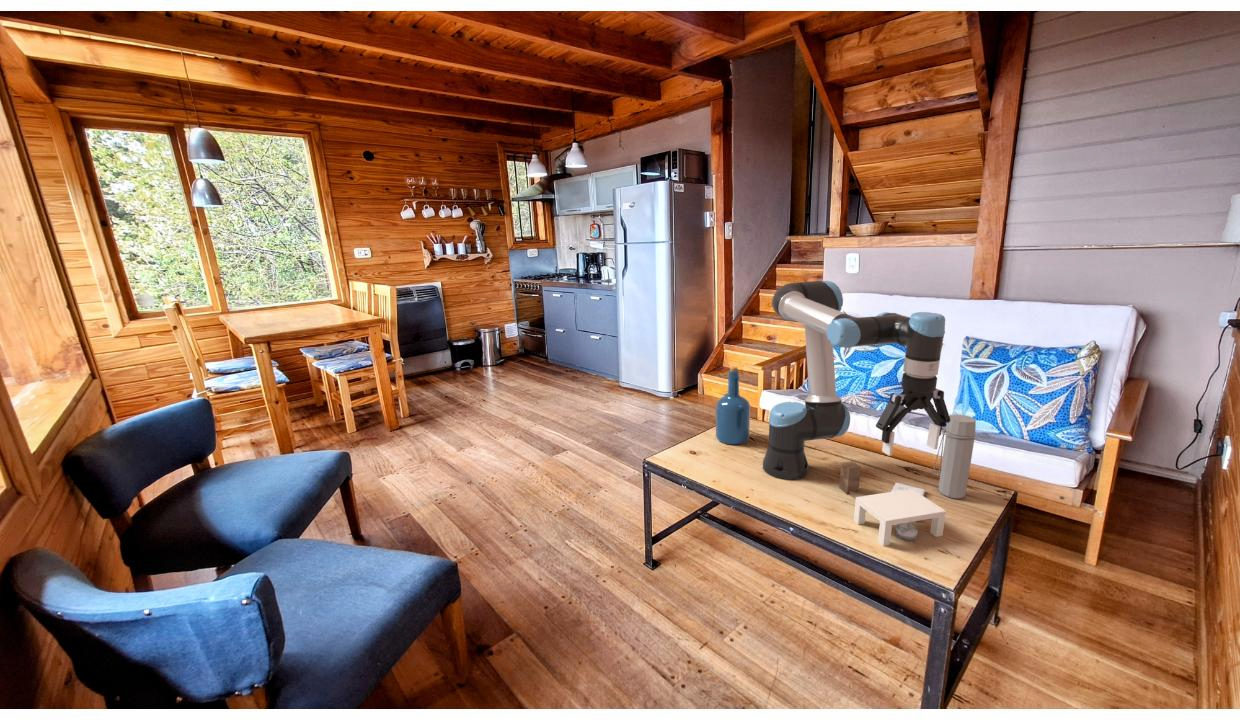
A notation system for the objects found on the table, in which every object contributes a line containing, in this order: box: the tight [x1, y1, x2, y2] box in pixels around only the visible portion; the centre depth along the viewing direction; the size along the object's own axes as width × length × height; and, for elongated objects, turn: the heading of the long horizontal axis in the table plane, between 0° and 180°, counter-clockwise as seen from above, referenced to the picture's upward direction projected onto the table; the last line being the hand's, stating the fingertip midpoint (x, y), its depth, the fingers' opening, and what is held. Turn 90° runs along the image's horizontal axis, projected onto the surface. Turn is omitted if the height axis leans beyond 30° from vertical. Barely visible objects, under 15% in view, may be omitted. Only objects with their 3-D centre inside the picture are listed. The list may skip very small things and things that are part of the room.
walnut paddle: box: [838, 460, 866, 501], centre depth 146 cm, size 20×4×9 cm, turn 11°
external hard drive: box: [890, 482, 926, 497], centre depth 150 cm, size 2×8×12 cm
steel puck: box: [895, 522, 919, 542], centre depth 131 cm, size 5×5×2 cm
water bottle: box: [933, 413, 977, 499], centre depth 148 cm, size 9×8×25 cm
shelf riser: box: [853, 489, 947, 547], centre depth 134 cm, size 12×18×8 cm, turn 101°
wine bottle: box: [715, 366, 751, 445], centre depth 193 cm, size 14×13×30 cm
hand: (909, 450), depth 129 cm, fingers open, 13 cm apart
